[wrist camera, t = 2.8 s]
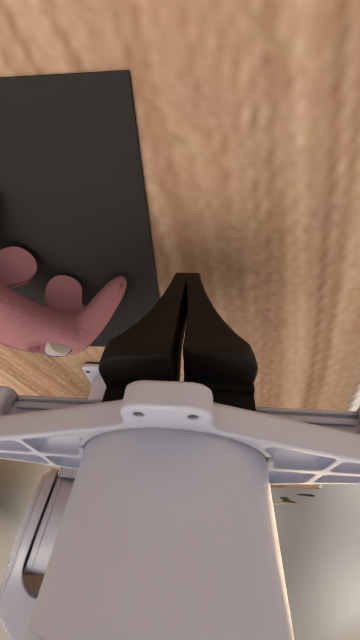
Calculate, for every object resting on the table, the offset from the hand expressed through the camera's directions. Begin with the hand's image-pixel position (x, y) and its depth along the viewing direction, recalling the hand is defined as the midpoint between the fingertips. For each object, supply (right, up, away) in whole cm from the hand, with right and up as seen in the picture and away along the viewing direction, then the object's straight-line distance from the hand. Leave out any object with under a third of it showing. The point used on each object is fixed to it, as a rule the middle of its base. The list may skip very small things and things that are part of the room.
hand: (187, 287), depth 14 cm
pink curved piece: (-9, +2, +3) cm, 10 cm away
